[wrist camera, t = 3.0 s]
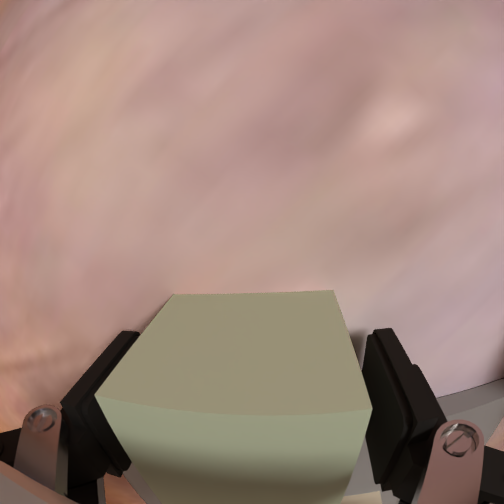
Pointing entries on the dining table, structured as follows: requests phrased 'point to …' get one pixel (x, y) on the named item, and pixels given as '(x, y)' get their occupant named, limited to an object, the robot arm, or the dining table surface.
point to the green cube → (242, 400)
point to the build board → (453, 406)
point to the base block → (363, 498)
